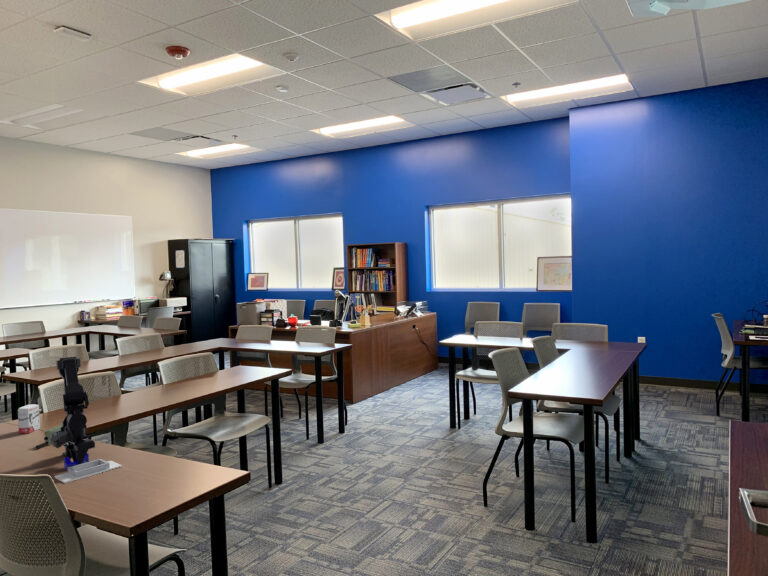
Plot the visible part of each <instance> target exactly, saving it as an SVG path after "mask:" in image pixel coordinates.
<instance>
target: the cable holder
mask: <svg viewBox="0 0 768 576" xmlns="http://www.w3.org/2000/svg"><path fill="white" fill-rule="evenodd" d="M89 458H90V456H89V453H88V452H87V453H86V456H85V458H84V460H83V462H82V464H83V463H86V462H90V459H89ZM75 465H78V463H77V461H76V462H73V461H72V460H71V457H67V456H65V457H63V469H64V468H65V469H64V470H66V471H67V472H68V467H72V466H75Z"/></svg>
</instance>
